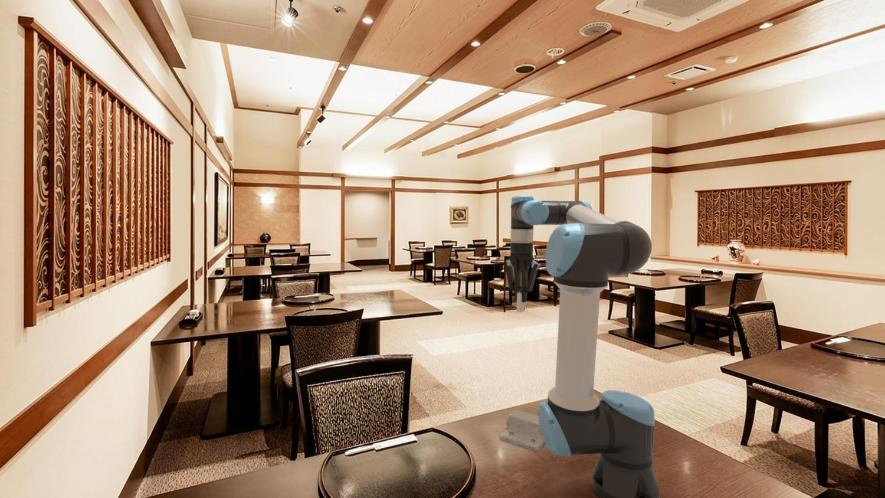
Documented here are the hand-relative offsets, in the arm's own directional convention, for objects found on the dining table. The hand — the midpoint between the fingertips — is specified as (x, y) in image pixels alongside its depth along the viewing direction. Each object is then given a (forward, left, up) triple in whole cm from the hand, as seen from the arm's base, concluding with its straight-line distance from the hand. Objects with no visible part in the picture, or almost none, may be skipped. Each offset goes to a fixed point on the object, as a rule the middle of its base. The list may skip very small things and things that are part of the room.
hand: (520, 311), depth 144 cm
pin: (-10, +13, -34) cm, 38 cm away
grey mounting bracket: (-10, +13, -34) cm, 38 cm away
